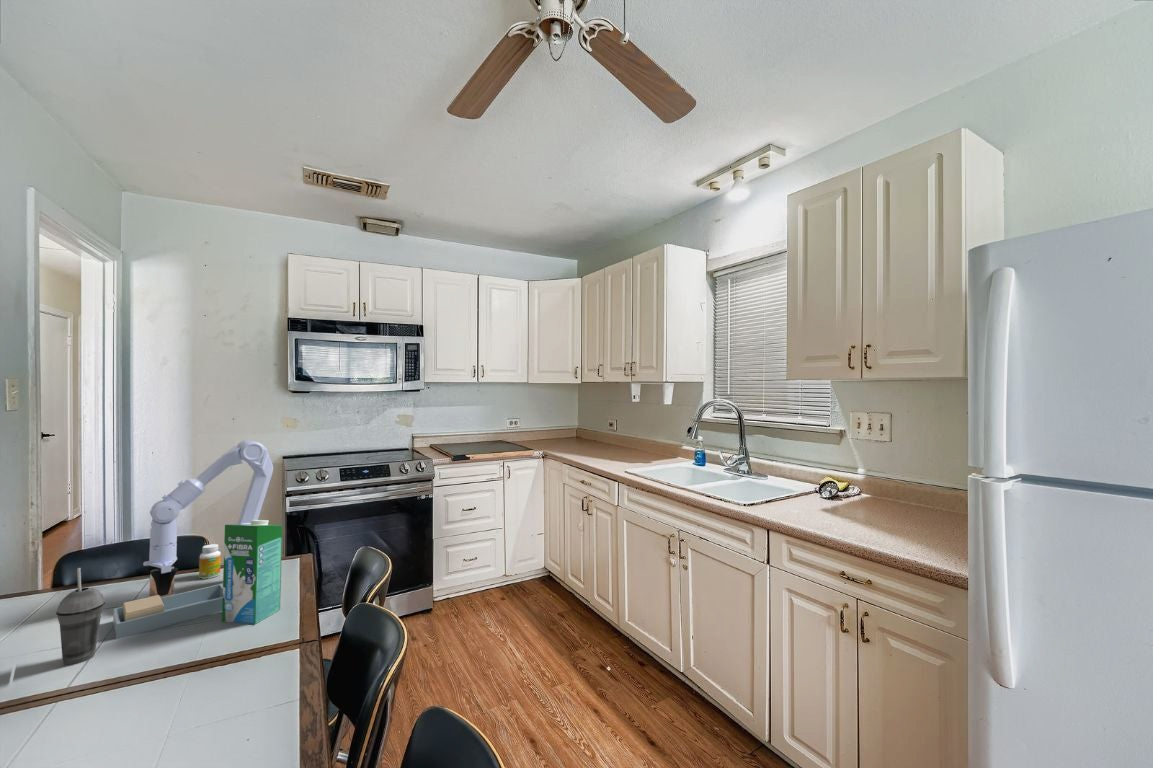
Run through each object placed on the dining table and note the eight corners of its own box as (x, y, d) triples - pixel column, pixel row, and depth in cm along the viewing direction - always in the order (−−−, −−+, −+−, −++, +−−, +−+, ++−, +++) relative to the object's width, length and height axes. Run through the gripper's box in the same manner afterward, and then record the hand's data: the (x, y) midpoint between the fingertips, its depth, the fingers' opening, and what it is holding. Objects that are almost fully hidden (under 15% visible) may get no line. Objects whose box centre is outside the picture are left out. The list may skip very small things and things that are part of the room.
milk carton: (280, 609, 126) (282, 516, 127) (254, 625, 117) (257, 525, 118) (249, 607, 127) (252, 515, 128) (221, 623, 118) (224, 524, 119)
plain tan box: (159, 613, 122) (159, 594, 122) (163, 624, 116) (164, 604, 116) (121, 622, 117) (122, 602, 117) (124, 634, 111) (125, 613, 111)
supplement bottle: (206, 580, 146) (207, 549, 146) (194, 578, 148) (195, 547, 148) (224, 574, 151) (225, 544, 152) (212, 572, 153) (213, 542, 153)
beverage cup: (70, 673, 96) (74, 575, 97) (44, 669, 98) (48, 573, 98) (111, 654, 103) (115, 563, 104) (86, 651, 105) (90, 561, 105)
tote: (221, 597, 133) (221, 583, 133) (230, 610, 125) (231, 595, 125) (113, 624, 117) (113, 608, 117) (116, 641, 109) (116, 624, 109)
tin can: (172, 596, 134) (173, 564, 134) (174, 601, 131) (175, 569, 131) (148, 602, 130) (149, 569, 131) (150, 607, 127) (151, 574, 127)
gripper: (141, 541, 133) (139, 589, 132) (147, 552, 123) (145, 604, 123) (173, 536, 138) (172, 582, 138) (181, 546, 128) (179, 596, 128)
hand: (161, 592), depth 130 cm, fingers closed on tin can, 5 cm apart
